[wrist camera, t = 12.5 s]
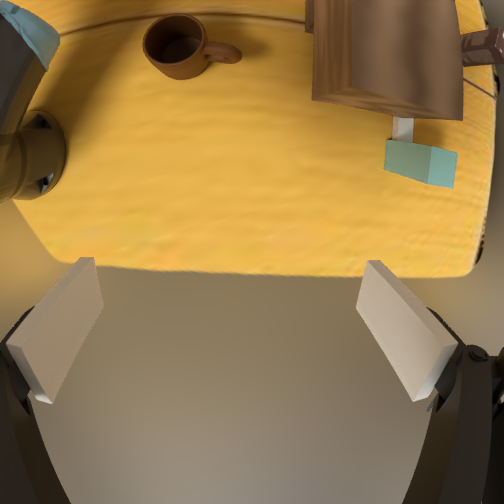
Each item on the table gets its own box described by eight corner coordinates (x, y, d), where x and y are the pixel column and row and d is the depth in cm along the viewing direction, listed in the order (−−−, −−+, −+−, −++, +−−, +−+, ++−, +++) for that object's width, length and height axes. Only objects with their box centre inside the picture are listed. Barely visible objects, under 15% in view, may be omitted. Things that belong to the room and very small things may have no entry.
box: (465, 68, 34) (508, 64, 23) (450, 52, 33) (494, 44, 22) (471, 50, 33) (513, 45, 21) (457, 34, 31) (499, 25, 20)
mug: (247, 47, 34) (252, 25, 25) (232, 92, 36) (232, 81, 28) (168, 32, 31) (153, 9, 23) (152, 76, 34) (132, 63, 26)
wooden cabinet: (302, 103, 38) (351, 86, 21) (305, 1, 30) (346, -56, 14) (393, 120, 39) (470, 124, 22) (393, 24, 32) (460, -6, 15)
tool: (384, 169, 42) (427, 184, 31) (388, 64, 35) (432, 52, 24) (408, 173, 42) (452, 188, 31) (413, 72, 35) (458, 64, 24)
